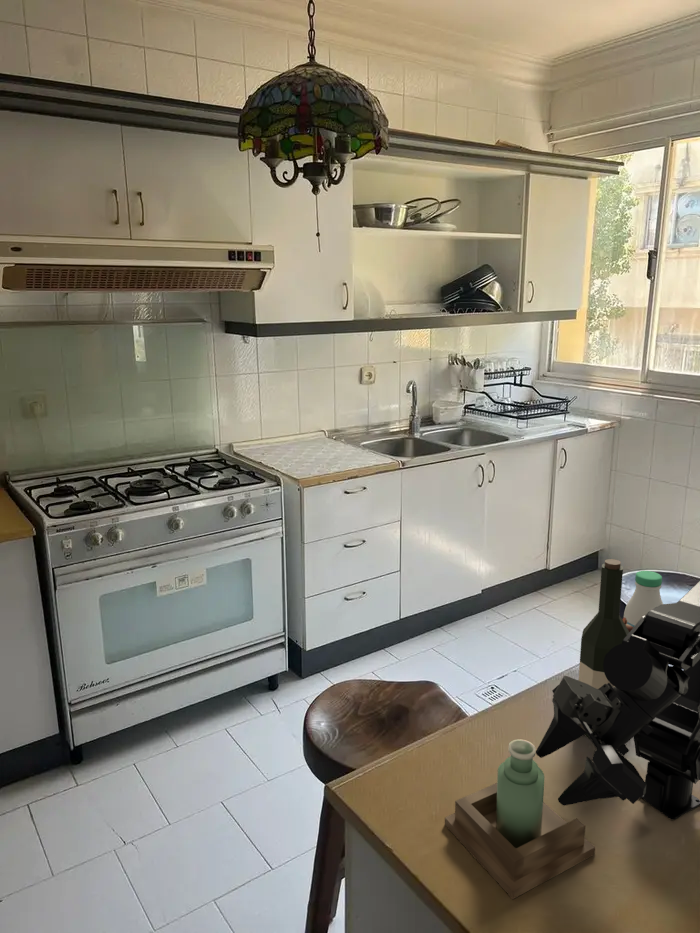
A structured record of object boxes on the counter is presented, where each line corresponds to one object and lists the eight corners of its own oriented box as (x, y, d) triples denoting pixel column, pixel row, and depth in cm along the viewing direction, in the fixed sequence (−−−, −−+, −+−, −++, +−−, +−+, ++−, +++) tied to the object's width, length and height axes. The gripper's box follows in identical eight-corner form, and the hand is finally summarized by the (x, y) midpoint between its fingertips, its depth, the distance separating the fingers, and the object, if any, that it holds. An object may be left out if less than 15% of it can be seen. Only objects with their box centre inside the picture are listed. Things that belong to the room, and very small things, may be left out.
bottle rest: (521, 789, 102) (522, 765, 101) (594, 854, 90) (596, 827, 89) (444, 824, 95) (445, 799, 94) (512, 899, 83) (513, 870, 82)
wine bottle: (634, 742, 112) (649, 571, 105) (582, 742, 112) (595, 572, 105) (615, 712, 120) (629, 552, 113) (568, 712, 120) (578, 552, 113)
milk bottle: (626, 656, 139) (634, 563, 134) (666, 668, 134) (676, 573, 129) (613, 672, 133) (621, 576, 128) (655, 685, 128) (664, 586, 123)
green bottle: (519, 809, 96) (523, 728, 93) (550, 837, 91) (555, 752, 88) (486, 825, 94) (489, 742, 90) (516, 855, 88) (520, 768, 85)
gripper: (570, 628, 96) (490, 701, 98) (627, 705, 78) (528, 793, 80) (621, 676, 98) (542, 746, 101) (688, 761, 80) (590, 845, 83)
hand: (548, 777), depth 91 cm, fingers open, 9 cm apart
